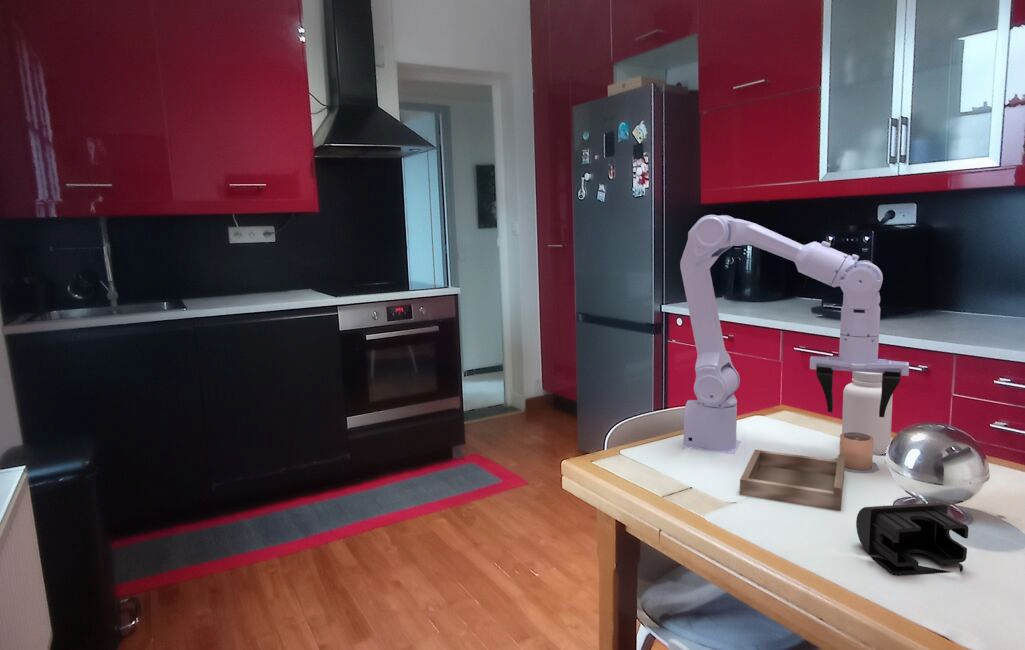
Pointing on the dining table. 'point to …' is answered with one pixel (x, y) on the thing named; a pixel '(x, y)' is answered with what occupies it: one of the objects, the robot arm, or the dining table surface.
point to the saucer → (874, 469)
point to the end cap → (911, 536)
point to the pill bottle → (867, 410)
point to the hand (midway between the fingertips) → (855, 413)
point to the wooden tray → (794, 479)
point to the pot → (857, 450)
